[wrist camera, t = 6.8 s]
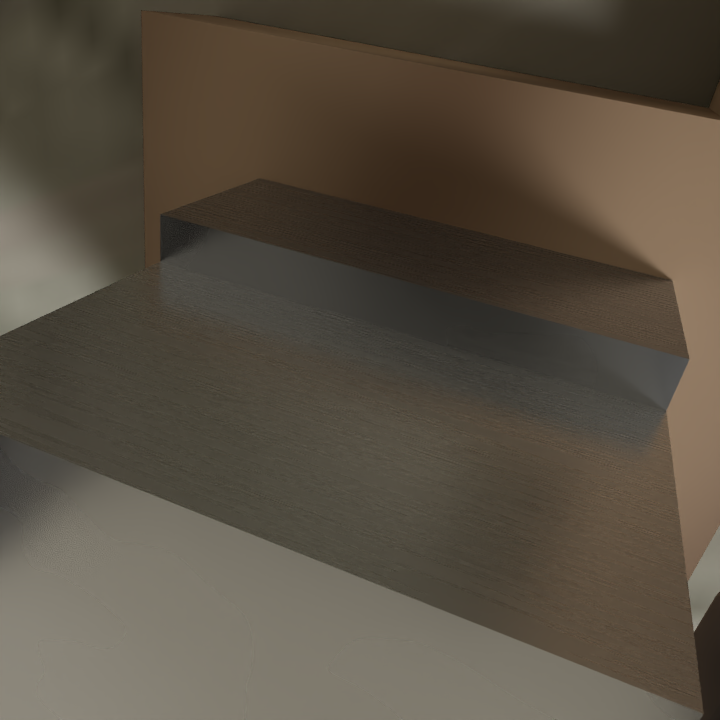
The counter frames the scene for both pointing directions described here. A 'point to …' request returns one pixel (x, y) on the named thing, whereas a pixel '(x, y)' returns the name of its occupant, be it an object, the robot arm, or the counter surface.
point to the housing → (345, 480)
